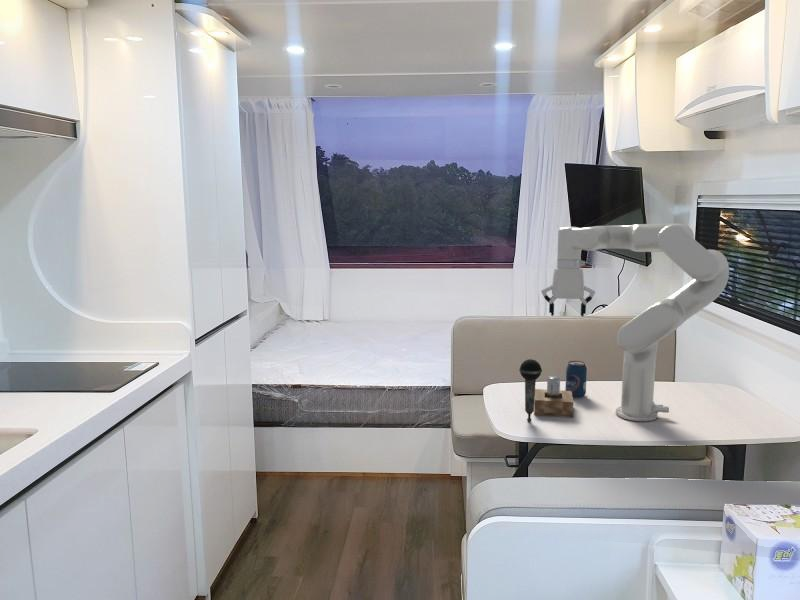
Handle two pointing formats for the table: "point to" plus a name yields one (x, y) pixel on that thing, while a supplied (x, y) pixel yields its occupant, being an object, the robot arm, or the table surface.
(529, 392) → the microphone
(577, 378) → the soda can
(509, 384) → the table surface
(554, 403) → the socket block
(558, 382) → the pin
